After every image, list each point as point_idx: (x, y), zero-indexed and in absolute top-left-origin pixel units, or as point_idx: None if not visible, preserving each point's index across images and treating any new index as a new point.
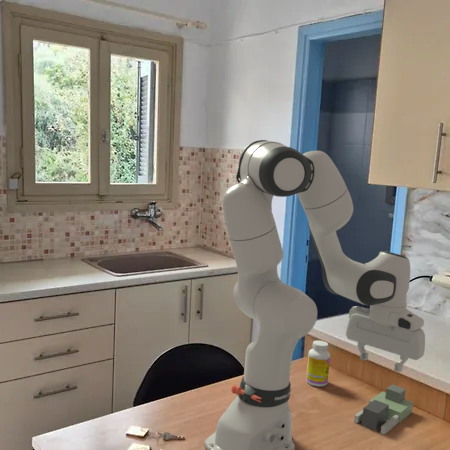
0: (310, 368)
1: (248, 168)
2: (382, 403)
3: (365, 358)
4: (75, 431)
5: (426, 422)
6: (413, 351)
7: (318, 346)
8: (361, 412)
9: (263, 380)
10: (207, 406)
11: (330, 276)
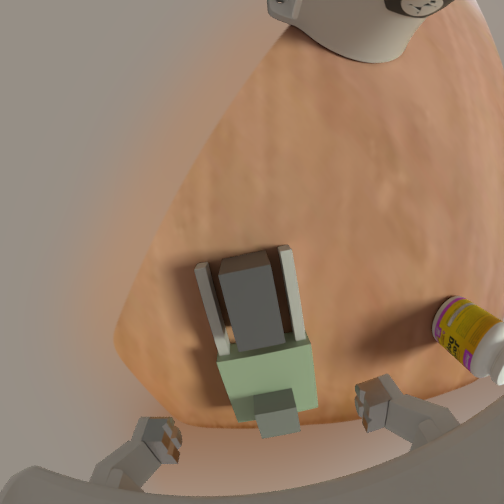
0: (480, 309)
1: None
2: (256, 343)
3: (360, 392)
4: None
5: (191, 395)
6: (23, 498)
7: None
8: (290, 281)
9: None
10: (465, 42)
11: None
